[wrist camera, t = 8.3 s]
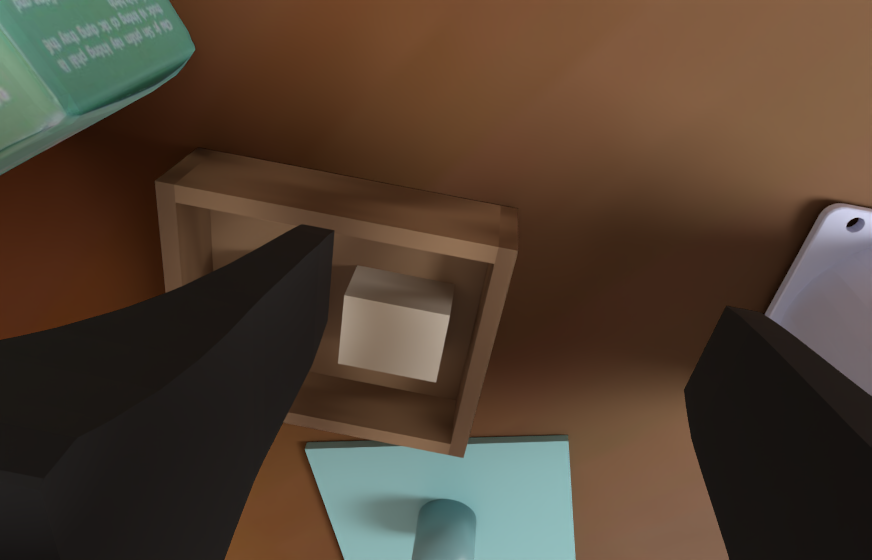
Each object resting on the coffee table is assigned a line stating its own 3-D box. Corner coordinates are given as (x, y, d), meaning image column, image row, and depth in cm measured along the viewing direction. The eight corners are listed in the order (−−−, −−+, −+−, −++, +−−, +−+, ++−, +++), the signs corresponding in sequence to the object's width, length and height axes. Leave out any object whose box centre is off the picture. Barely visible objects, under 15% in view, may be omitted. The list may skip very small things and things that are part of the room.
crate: (518, 208, 21) (518, 251, 18) (468, 403, 26) (463, 458, 23) (198, 147, 21) (154, 180, 19) (209, 353, 26) (176, 401, 23)
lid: (566, 423, 27) (574, 499, 23) (574, 563, 32) (582, 642, 28) (310, 433, 29) (283, 503, 25) (355, 562, 34) (338, 636, 30)
